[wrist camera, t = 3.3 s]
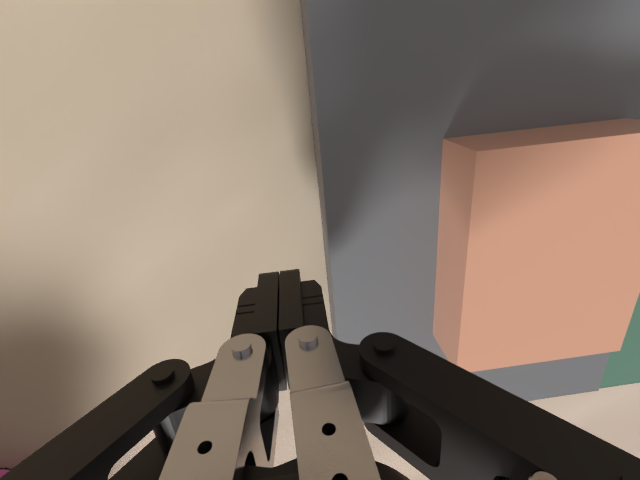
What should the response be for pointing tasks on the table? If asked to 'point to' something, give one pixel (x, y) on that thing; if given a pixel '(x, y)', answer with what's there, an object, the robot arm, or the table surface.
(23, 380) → the table surface
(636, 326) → the green mat
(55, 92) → the table surface
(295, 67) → the table surface
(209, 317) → the table surface
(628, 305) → the coral tile
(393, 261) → the gray riser
